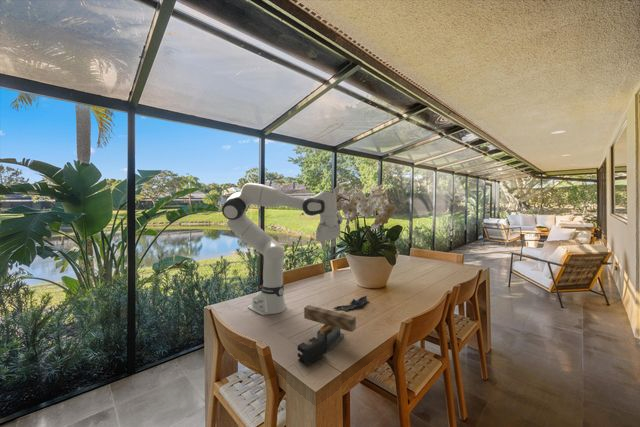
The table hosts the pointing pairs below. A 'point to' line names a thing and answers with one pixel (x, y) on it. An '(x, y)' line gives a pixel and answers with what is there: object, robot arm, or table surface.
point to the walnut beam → (330, 318)
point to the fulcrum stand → (330, 335)
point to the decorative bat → (353, 304)
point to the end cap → (311, 350)
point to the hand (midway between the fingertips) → (328, 247)
